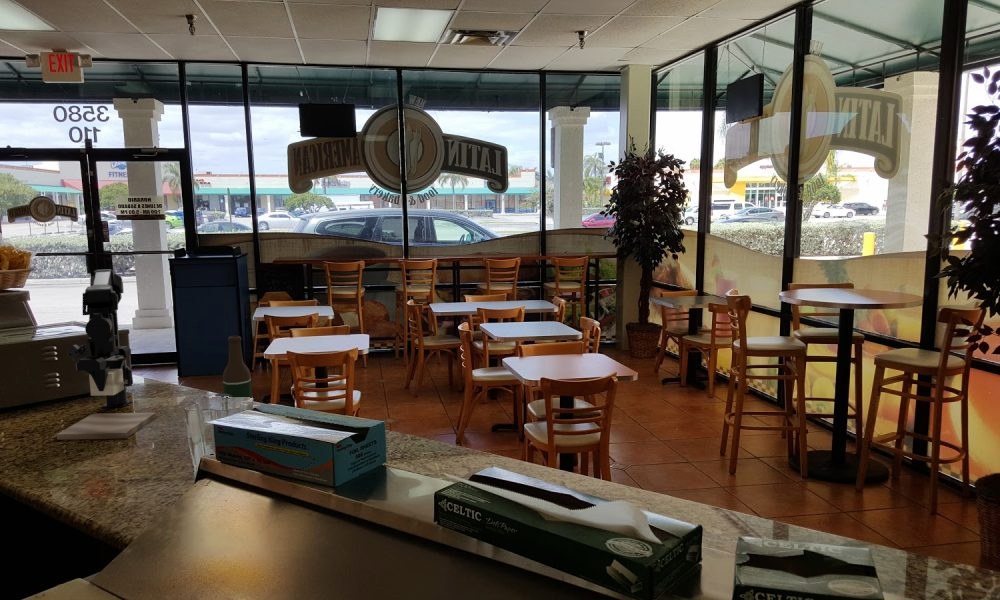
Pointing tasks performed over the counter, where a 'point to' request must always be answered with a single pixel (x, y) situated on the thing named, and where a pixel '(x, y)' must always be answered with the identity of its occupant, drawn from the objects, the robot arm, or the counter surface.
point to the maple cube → (109, 383)
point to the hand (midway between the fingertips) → (107, 388)
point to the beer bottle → (236, 371)
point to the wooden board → (107, 426)
